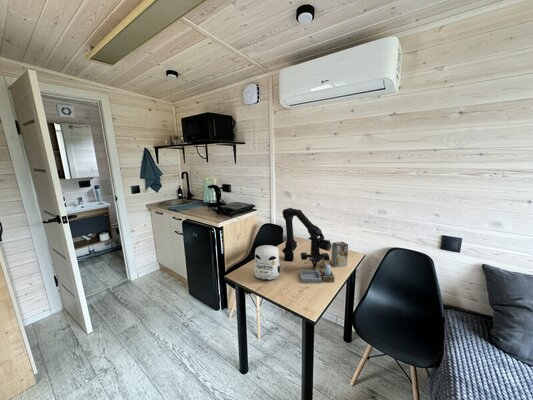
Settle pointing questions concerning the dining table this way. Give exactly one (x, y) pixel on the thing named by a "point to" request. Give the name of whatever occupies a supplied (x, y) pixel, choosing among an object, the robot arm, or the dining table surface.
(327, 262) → the light wooden block
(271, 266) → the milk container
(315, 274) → the tray
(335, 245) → the coffee box
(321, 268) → the tan cardboard box
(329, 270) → the dowel
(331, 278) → the socket block
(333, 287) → the dining table surface
